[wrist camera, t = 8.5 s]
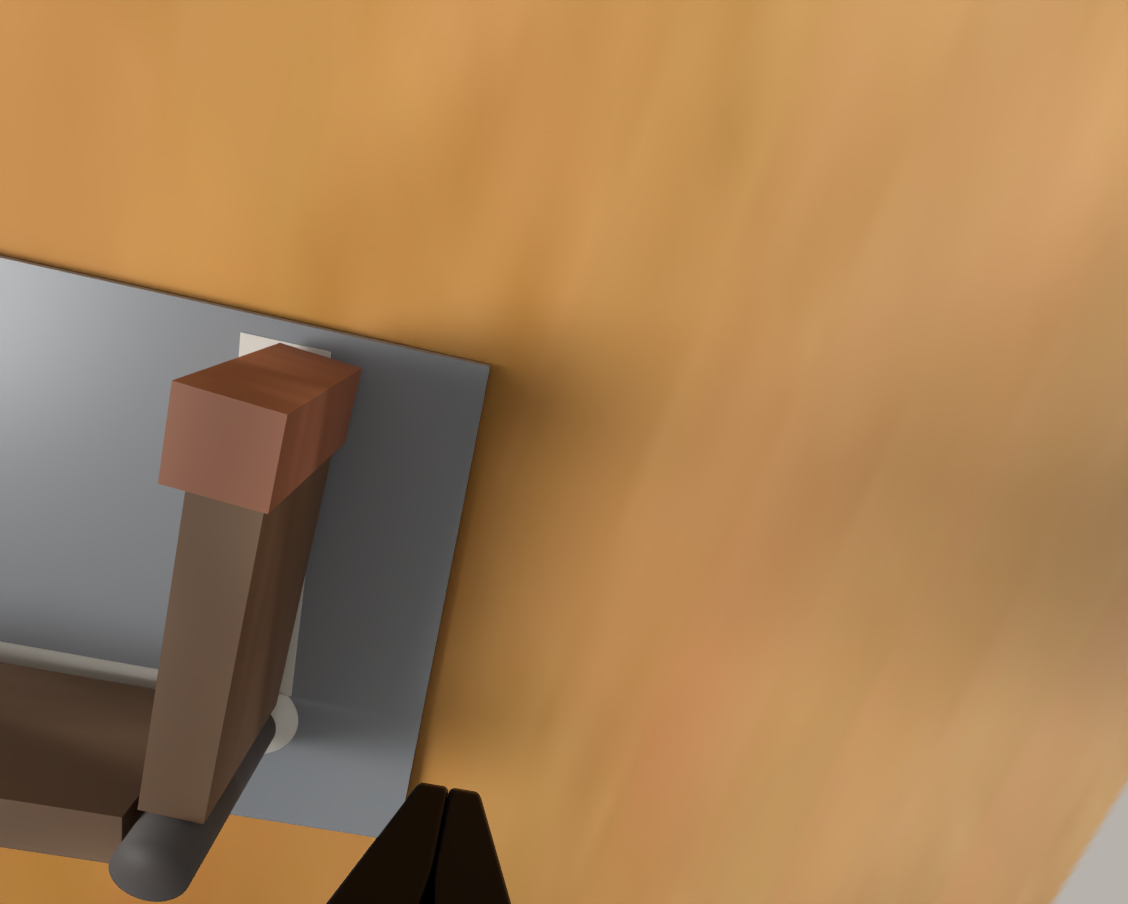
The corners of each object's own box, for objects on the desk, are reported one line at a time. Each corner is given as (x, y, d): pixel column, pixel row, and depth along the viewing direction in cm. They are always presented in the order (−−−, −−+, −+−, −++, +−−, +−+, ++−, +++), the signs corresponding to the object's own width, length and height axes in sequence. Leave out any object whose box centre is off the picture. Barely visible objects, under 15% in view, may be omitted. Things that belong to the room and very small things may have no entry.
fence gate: (361, 367, 15) (287, 414, 11) (284, 707, 18) (202, 846, 14) (280, 342, 15) (171, 380, 11) (215, 690, 18) (111, 825, 14)
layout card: (399, 832, 21) (396, 841, 21) (-80, 755, 20) (-91, 764, 19) (490, 364, 16) (489, 367, 16) (-134, 225, 15) (-151, 224, 15)
